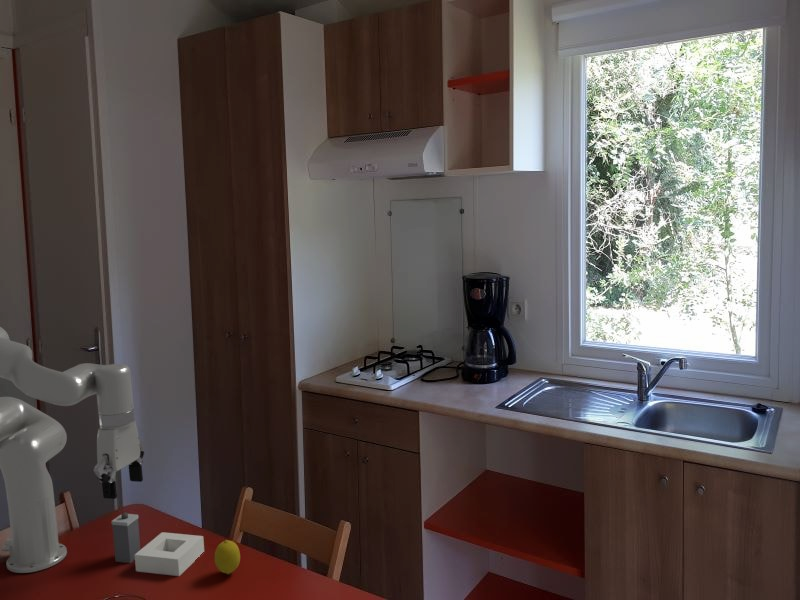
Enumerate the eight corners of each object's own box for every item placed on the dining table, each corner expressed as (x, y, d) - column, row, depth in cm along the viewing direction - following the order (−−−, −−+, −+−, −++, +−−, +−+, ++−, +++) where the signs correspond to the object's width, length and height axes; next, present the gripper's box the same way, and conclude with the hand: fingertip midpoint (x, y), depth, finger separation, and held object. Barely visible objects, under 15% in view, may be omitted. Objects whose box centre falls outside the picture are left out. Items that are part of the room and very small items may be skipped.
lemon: (243, 567, 156) (241, 533, 155) (238, 580, 150) (236, 545, 149) (218, 568, 156) (216, 534, 155) (213, 581, 150) (210, 546, 149)
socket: (135, 571, 155) (134, 554, 155) (163, 547, 166) (162, 532, 165) (179, 576, 153) (177, 559, 152) (204, 551, 163) (203, 536, 163)
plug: (114, 561, 160) (110, 517, 158) (126, 552, 164) (122, 509, 162) (130, 563, 159) (126, 518, 157) (141, 554, 163) (137, 510, 161)
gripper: (126, 406, 166) (132, 474, 168) (77, 429, 149) (84, 504, 152) (153, 407, 164) (159, 475, 167) (106, 431, 148) (114, 506, 150)
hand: (123, 489), depth 159 cm, fingers open, 9 cm apart
